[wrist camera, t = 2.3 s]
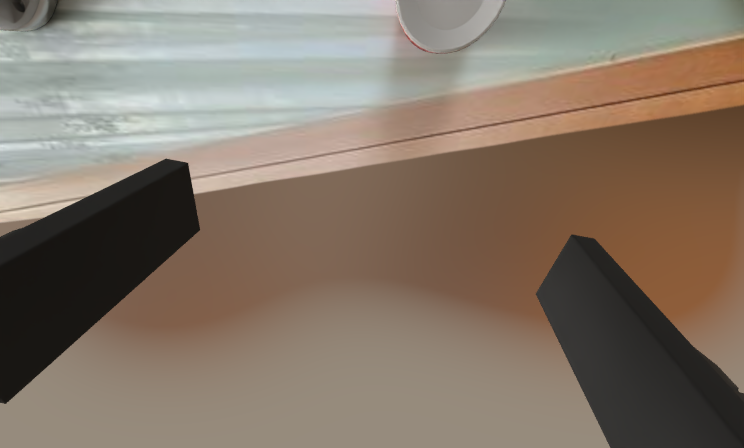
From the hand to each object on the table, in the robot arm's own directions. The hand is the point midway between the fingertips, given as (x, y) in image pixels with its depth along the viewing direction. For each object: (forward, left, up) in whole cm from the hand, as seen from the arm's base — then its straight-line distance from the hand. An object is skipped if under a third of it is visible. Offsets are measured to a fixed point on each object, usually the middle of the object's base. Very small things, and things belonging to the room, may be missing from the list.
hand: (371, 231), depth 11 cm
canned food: (+2, +10, -28) cm, 30 cm away
